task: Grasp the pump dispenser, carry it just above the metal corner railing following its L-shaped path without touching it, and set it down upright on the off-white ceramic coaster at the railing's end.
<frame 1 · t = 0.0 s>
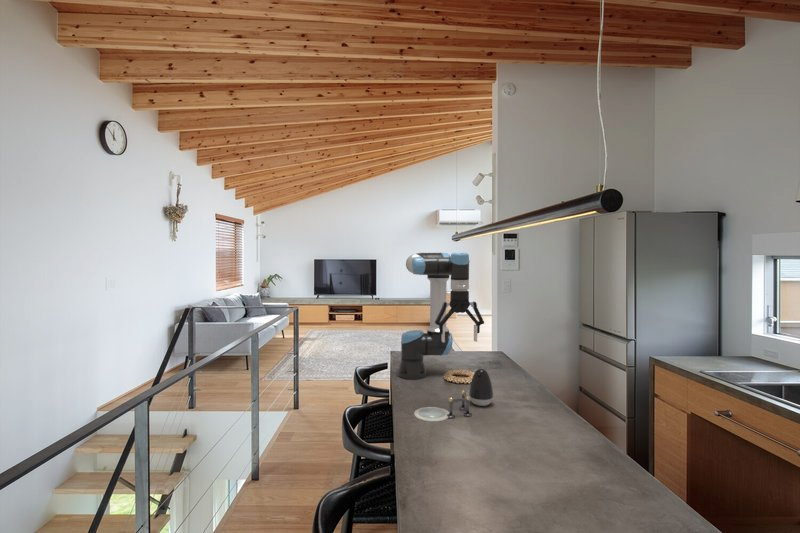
hand: (459, 341, 175), 28 cm above the kitchen island, fingers open, 13 cm apart
metal corner railing: (463, 408, 175), on the kitchen island
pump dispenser: (481, 404, 181), on the kitchen island
coaster: (431, 414, 169), on the kitchen island
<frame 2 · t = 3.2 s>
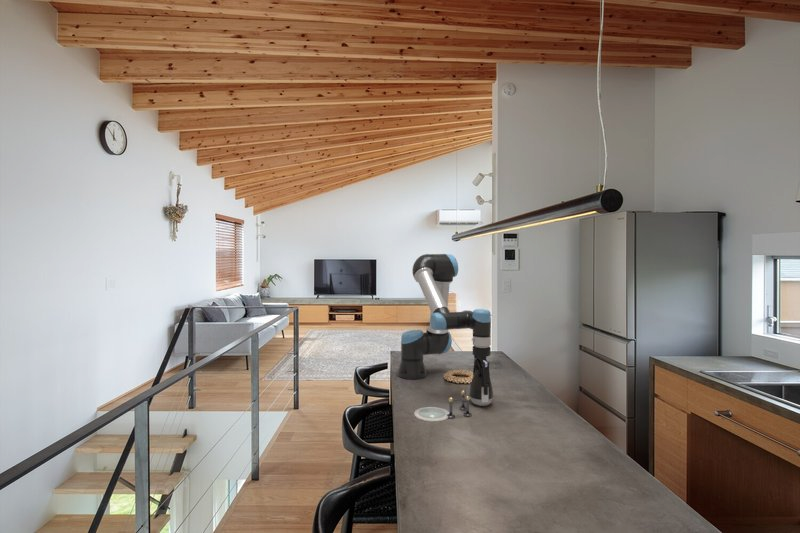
hand: (481, 397, 181), 3 cm above the kitchen island, fingers closed on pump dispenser, 10 cm apart
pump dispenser: (481, 404, 181), on the kitchen island, touching gripper
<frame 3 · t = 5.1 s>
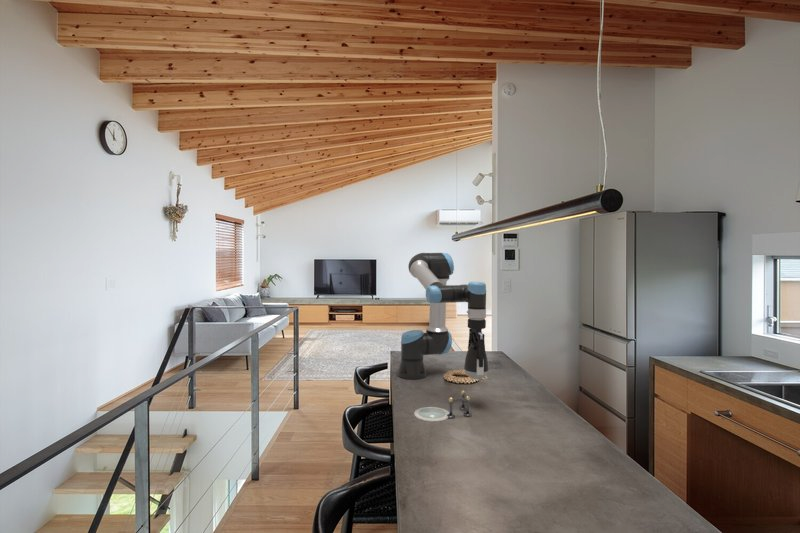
hand: (476, 370, 179), 15 cm above the kitchen island, fingers closed on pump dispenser, 10 cm apart
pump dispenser: (476, 378, 179), point 12 cm above the kitchen island, touching gripper
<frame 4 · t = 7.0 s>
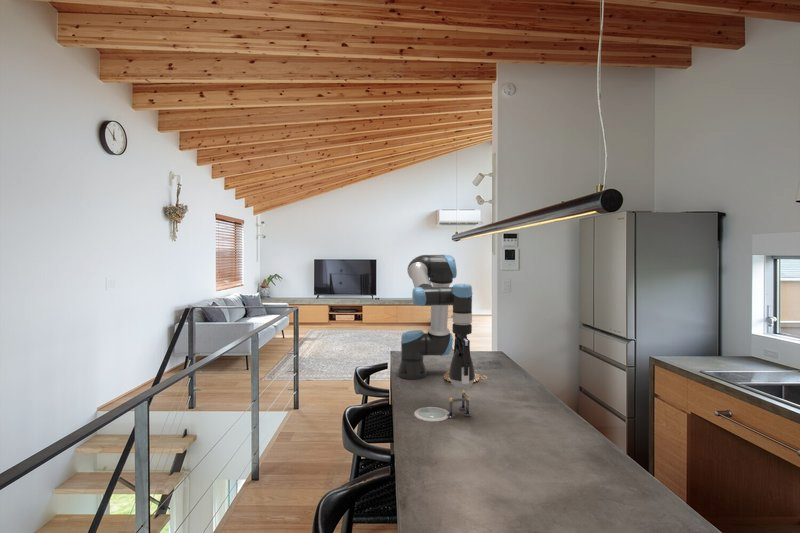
hand: (461, 379, 167), 15 cm above the kitchen island, fingers closed on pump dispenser, 10 cm apart
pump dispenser: (461, 386, 167), point 12 cm above the kitchen island, touching gripper
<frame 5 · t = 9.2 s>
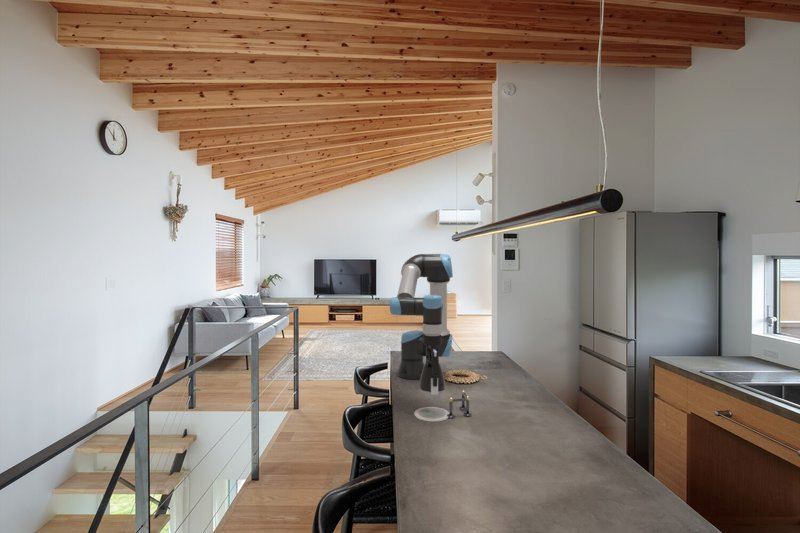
hand: (432, 389, 169), 10 cm above the kitchen island, fingers closed on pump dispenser, 10 cm apart
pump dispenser: (432, 397, 169), point 7 cm above the kitchen island, touching gripper
when the fingers open (5 cm above the kitchen island, at t = 11.0 s): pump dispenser drops 2 cm, resting on coaster.
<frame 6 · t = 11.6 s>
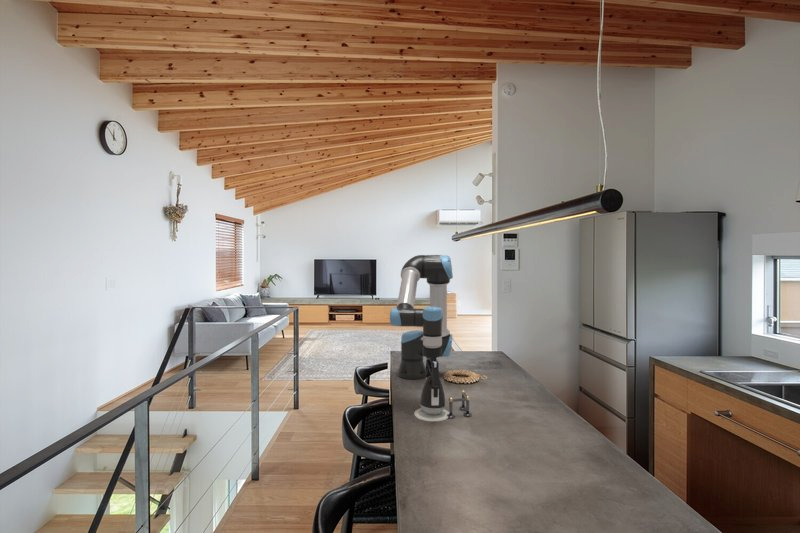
hand: (432, 399, 169), 6 cm above the kitchen island, fingers open, 13 cm apart
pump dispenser: (432, 413, 169), point 1 cm above the kitchen island, touching coaster
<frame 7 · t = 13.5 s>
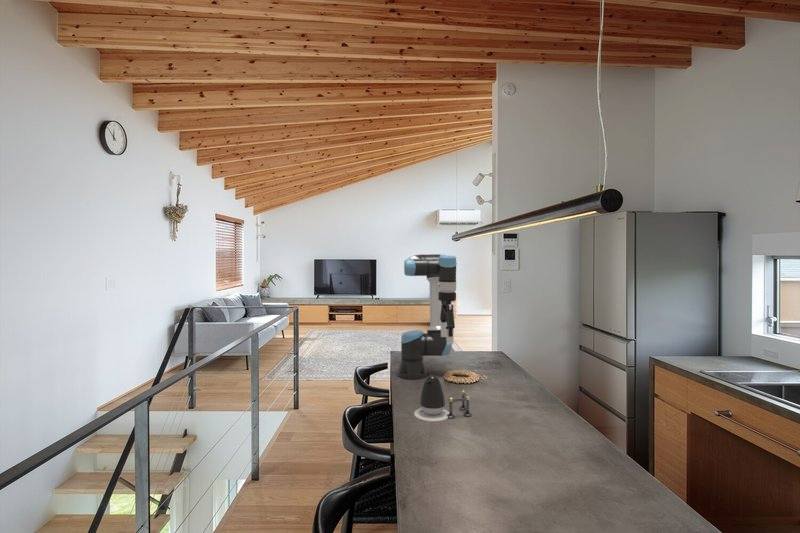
hand: (446, 340, 183), 27 cm above the kitchen island, fingers open, 13 cm apart
nothing on the kitchen island moved.
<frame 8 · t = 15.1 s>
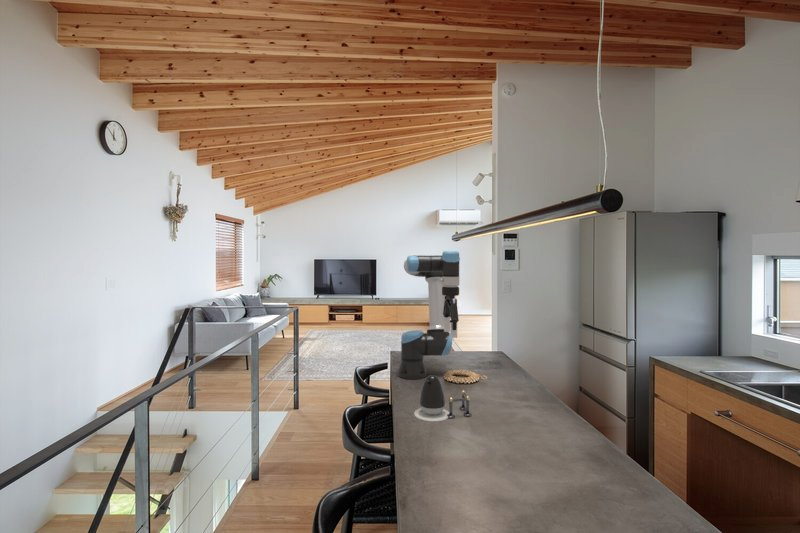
hand: (450, 334, 186), 29 cm above the kitchen island, fingers open, 13 cm apart
nothing on the kitchen island moved.
at the end: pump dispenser 0.0 cm from the coaster (horizontally); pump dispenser tilted 0°; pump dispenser touching coaster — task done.
